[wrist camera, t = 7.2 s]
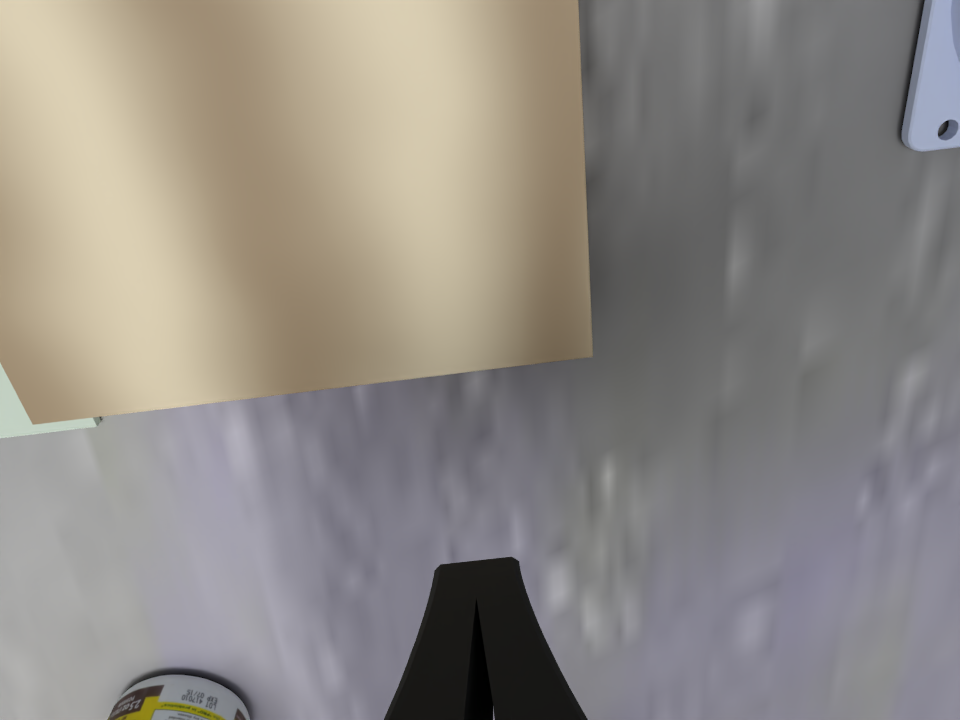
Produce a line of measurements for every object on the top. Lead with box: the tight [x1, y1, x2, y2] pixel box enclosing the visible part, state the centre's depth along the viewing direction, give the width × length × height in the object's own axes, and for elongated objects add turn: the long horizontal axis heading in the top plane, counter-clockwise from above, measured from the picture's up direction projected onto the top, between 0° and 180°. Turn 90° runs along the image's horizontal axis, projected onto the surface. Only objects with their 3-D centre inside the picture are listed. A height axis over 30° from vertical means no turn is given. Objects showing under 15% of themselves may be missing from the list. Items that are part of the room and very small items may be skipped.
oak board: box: [0, 0, 593, 425], centre depth 16 cm, size 14×14×4 cm
